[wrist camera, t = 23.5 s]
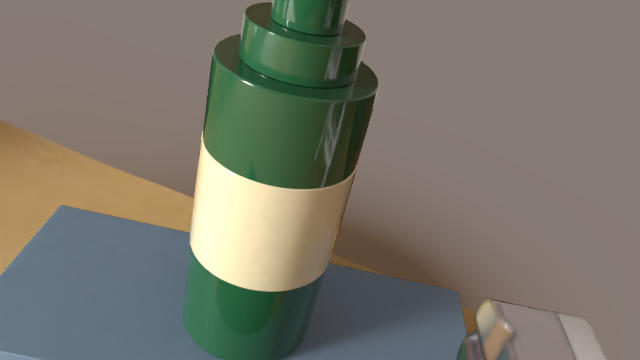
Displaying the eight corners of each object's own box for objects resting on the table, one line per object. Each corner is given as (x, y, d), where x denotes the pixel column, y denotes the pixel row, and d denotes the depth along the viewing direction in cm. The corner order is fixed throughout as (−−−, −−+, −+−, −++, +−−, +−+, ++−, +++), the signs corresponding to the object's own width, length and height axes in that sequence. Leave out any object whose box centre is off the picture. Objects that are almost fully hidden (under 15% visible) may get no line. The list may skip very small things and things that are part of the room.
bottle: (162, 350, 24) (211, -142, 14) (199, 258, 30) (253, -145, 20) (303, 379, 25) (444, -83, 15) (315, 283, 30) (424, -102, 20)
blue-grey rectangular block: (-42, 416, 25) (-57, 340, 22) (63, 271, 34) (60, 204, 31) (452, 513, 26) (492, 451, 24) (431, 349, 35) (458, 290, 32)
